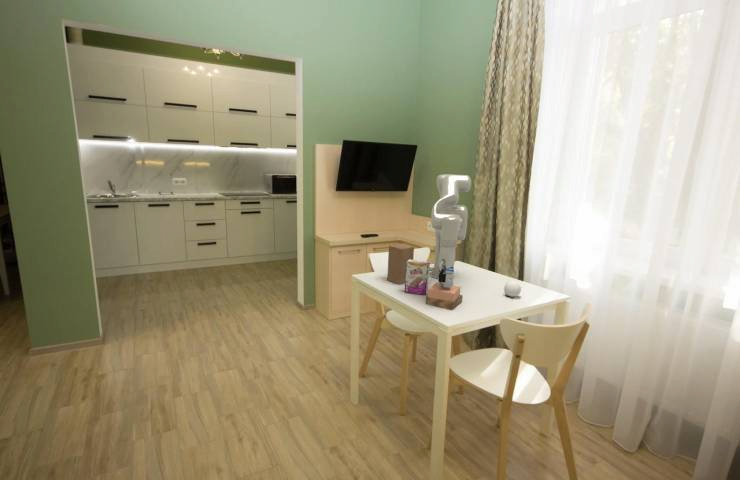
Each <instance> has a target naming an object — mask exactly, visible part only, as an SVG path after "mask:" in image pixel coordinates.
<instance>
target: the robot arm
mask: <svg viewBox="0 0 740 480" xmlns="http://www.w3.org/2000/svg"><path fill="white" fill-rule="evenodd" d="M436 187H437V190H438V193H439V199H438V200H437V201H436V202H435V203H434V204H433V206H432V209H431V215H430V217H431V218H430V225H431V227H432V229H434V236H435V245H434V246H435V247H434V248H435V249H434V261H433V266H432V267H431V266H430V268H429V272H431V273H430V276H431V277H432V278H435V279H438V281H439V282H445V281H446V274H445V273H446V269H448V268H450V267H451V268H452V269H453V270H455V269H454V268H455V267H454V266H455V263H456V248H458V241H464V240H465V239H466V236H467V228H468V227H467V226H468V218H469V217H468V215H469V211H468V207H467V206H466V205H463V204H458V202H459V200H460V194H459V193H460V192H462V193H468V192H469V191H470V190H471V187H472V178H471V177H470V175H467V174H453V173H452V174H448V173H445V174H439V175H437V176H436ZM443 269H444V270H443ZM439 282H438V283H439Z"/></svg>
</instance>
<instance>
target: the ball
mask: <svg viewBox="0 0 740 480" xmlns="http://www.w3.org/2000/svg"><path fill="white" fill-rule="evenodd" d="M503 287H504V288H503V291H504V294H506V295H507V296H508V297H511V298H512V297H513V298H515V297H517V296H519V295H520V293H521V291H522V287H521V285H520V284H519V282H517V281H515V280H510V281H509V280H508V281H507V282H506V283H505V284H504V286H503Z"/></svg>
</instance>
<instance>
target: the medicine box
mask: <svg viewBox="0 0 740 480" xmlns="http://www.w3.org/2000/svg"><path fill="white" fill-rule="evenodd" d="M443 270H444V269H443ZM445 274H446V281H445V282H439V281H438V282H437V283H440V284H441V285H442V286H443V287H453V285H454V277H455V269H452V268H451V267H450V268H448V269H446V273H445Z"/></svg>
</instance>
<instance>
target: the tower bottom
mask: <svg viewBox="0 0 740 480" xmlns="http://www.w3.org/2000/svg"><path fill="white" fill-rule="evenodd" d="M462 303H463V294H460V295H459V296H458V297H457V299H456V300H455V301H454V302H450V301H445V300H439V299H434V298H429V297H428V295H426V297H425V305H429V306H433V307H438V308H441V309H446V310H448V311H449V310H450V311H454V309H455V308H457V307H458V306H460V304H462Z"/></svg>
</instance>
